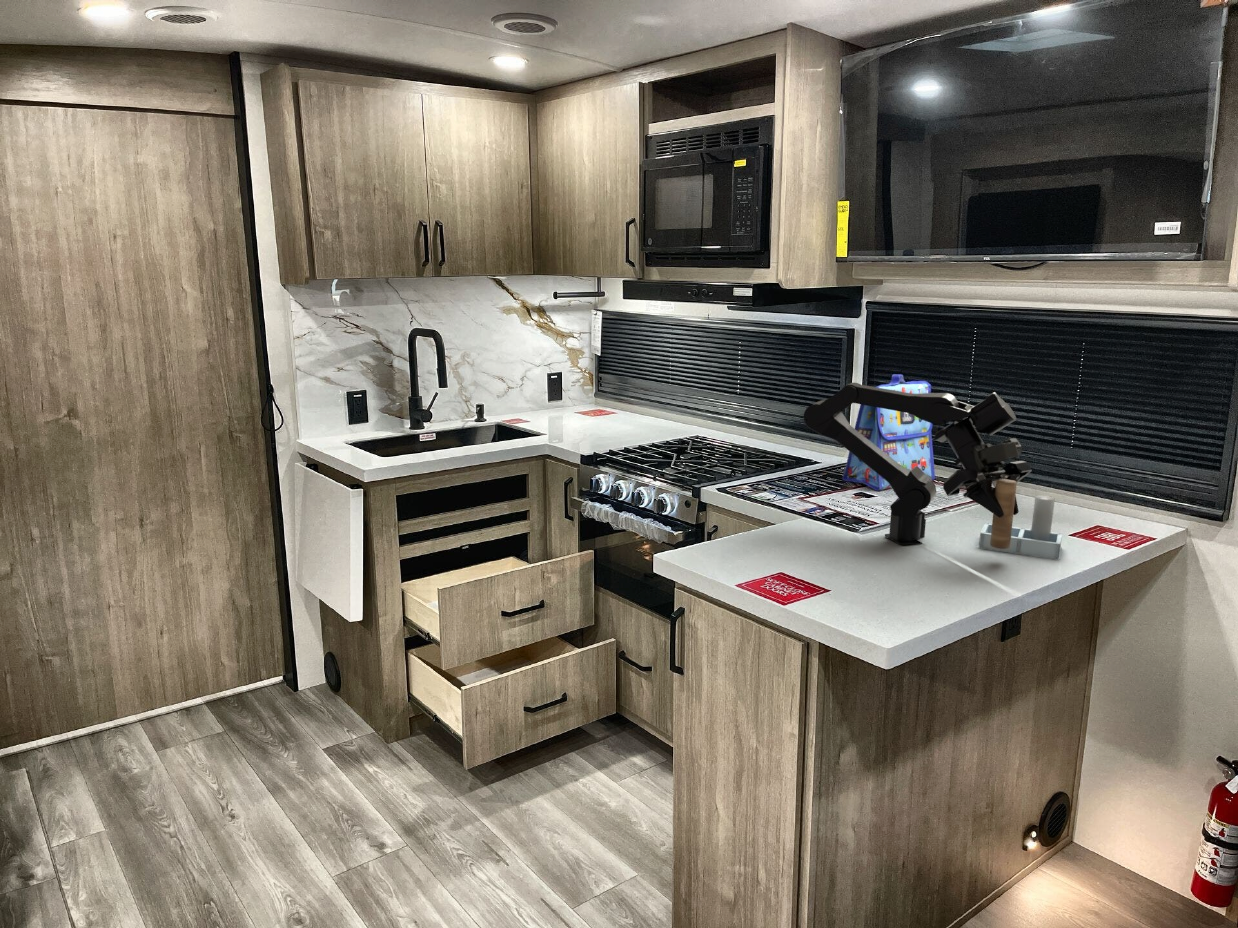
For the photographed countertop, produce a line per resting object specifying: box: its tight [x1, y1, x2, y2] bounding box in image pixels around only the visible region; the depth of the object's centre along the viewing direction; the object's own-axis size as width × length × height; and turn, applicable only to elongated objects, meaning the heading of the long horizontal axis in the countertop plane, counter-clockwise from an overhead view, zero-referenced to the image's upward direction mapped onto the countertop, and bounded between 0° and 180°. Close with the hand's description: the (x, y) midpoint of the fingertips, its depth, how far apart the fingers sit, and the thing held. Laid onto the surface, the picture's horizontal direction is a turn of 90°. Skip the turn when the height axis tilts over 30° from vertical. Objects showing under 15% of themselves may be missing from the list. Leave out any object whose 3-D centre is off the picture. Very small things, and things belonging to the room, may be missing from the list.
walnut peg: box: [990, 479, 1018, 549], centre depth 173 cm, size 4×4×13 cm
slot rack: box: [977, 522, 1063, 561], centre depth 183 cm, size 15×9×4 cm, turn 62°
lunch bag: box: [842, 373, 936, 491], centre depth 236 cm, size 22×14×29 cm, turn 122°
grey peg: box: [1030, 495, 1056, 542], centre depth 181 cm, size 4×4×11 cm
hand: (1009, 515), depth 172 cm, fingers closed on walnut peg, 4 cm apart
